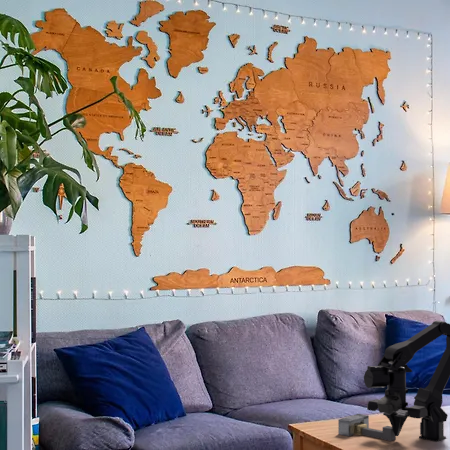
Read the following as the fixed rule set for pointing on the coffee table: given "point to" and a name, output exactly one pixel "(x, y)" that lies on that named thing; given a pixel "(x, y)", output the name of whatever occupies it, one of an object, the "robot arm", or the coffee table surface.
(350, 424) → the curved dark grey plate
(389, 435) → the stepped grey block
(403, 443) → the coffee table surface
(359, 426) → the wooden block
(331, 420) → the coffee table surface
